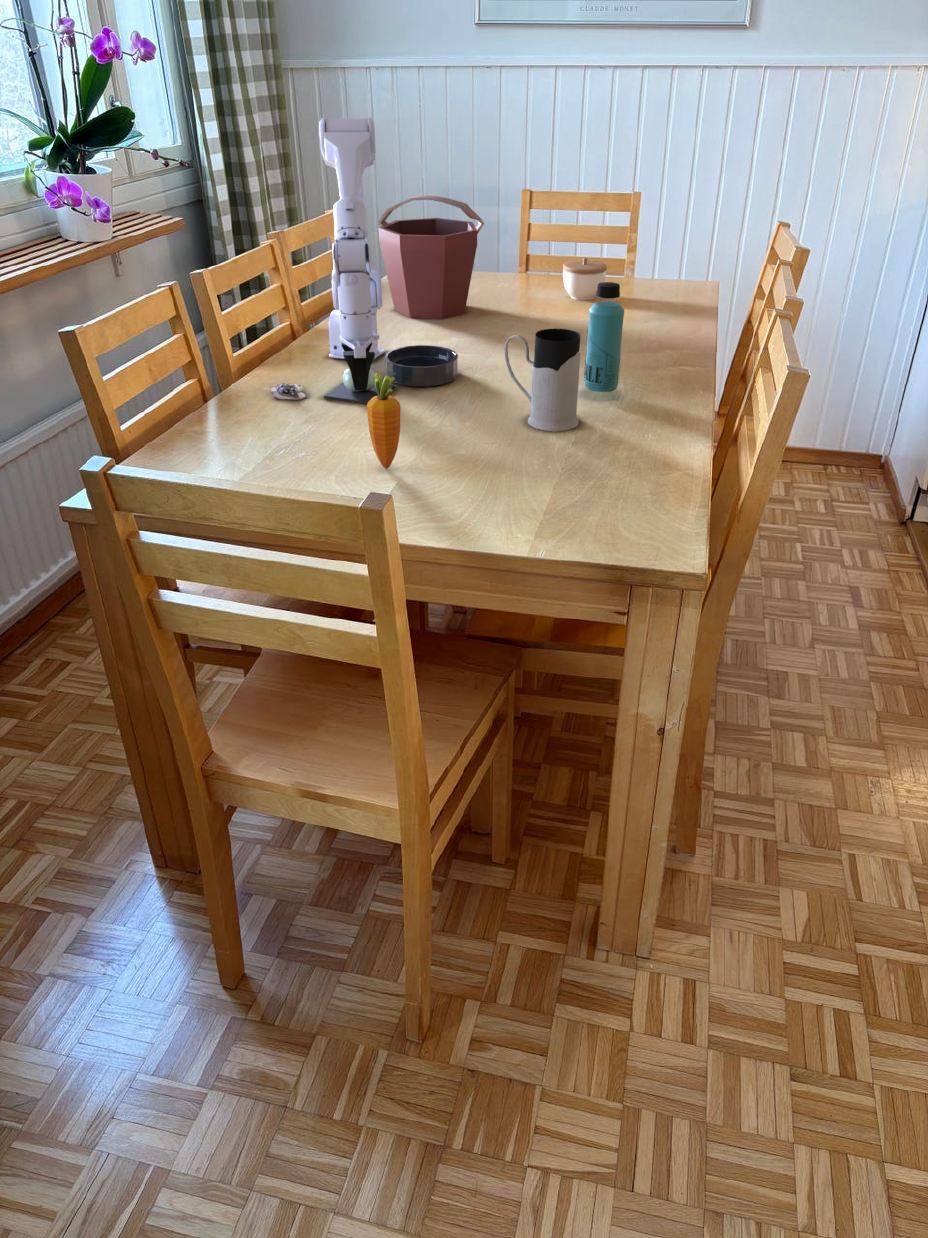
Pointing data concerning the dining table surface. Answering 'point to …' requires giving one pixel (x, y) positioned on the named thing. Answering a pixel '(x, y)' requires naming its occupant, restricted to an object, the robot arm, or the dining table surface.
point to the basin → (421, 365)
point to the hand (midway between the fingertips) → (359, 385)
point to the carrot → (384, 421)
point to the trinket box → (583, 278)
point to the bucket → (429, 261)
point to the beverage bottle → (604, 340)
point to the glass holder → (552, 378)
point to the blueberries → (288, 391)
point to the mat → (353, 394)
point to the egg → (349, 382)
